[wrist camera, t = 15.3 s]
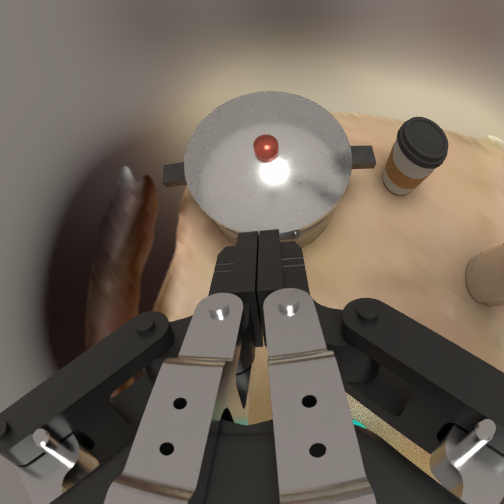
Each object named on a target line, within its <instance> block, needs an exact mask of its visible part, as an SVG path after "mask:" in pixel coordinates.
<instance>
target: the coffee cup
mask: <svg viewBox="0 0 504 504" xmlns="http://www.w3.org/2000/svg"><path fill="white" fill-rule="evenodd" d="M447 151H448V140H447V137H446V135H445V133H444V132H443V130H442V129H441V128H440V127H439V126H438V125H437V124H436V123H434V122H433V121H431V120H429V119H427V118H423V117H414V118H411V119H410V120H407V121H406V122H404V123H403V125H402V126H401V127H400V129H399V130H398V134H397V139H396V141H395V143H394V145H393V148H392V150H391V153H390V155H389V158H388V160H387V163H386V166H385V169H384V172H383V180H384V183H385V185H386V187H387V188H388V189H389V190H390V191H391V192H392V193H395V194H398V195H406V194H408V193H410V192H411V191H412V190H413V189H414V188H416V187H417V186H418V185H419V184H420V183H421V182H422V181H423V180H424V179H425V178H427V177H428V176H429V175H430V174H431V173H432V172H433V170H434V169H435V168H437V167H439V166H440V165H441V164H442V163H443V161H444V160H445V158H446V156H447Z"/></svg>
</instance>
